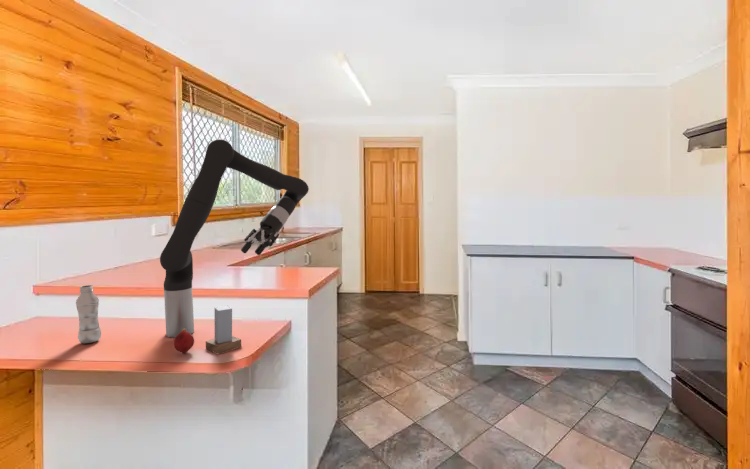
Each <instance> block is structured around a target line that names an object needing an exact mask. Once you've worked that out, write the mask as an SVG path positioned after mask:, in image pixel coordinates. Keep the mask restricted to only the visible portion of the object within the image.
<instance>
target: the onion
mask: <svg viewBox="0 0 750 469" xmlns="http://www.w3.org/2000/svg"><path fill="white" fill-rule="evenodd" d="M194 344H195V338H194V336H193V335H192V334H190V333H188V332H186V329H183V330H182V331H181V332H180V333H179V334H178V335H177V336H176V337H174V340H173V347H174V349H175V350H176V351H177V352H179V353H182V354H186V353H188V351H190V350H191V349H192V348H193V346H194Z"/></svg>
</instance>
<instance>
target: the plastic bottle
mask: <svg viewBox="0 0 750 469" xmlns="http://www.w3.org/2000/svg"><path fill="white" fill-rule="evenodd" d="M79 293H80V294H79V295H78V297H77V299H76V301H75V306H76V310H77V314H78V315H77V316H78V322H79V323H78V325H79V326H78V334H77V339H78V342H80V343H81V344H92V343H95V342H97V341H99V340H100V339H101V337H102V330H101V327H100V323H99V305H100V303H99V302H100V299H99V297H98V296H97V295H96V294H95V293H94V286H93V285H89V284H88V285H81V286H79Z"/></svg>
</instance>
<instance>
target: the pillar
mask: <svg viewBox="0 0 750 469" xmlns="http://www.w3.org/2000/svg"><path fill="white" fill-rule="evenodd" d="M232 336H233V308H232V307H231V306H230V305H222V306H215V307H214V339H215V340H216V341H217V343H223V342H228V341H232Z"/></svg>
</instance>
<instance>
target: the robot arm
mask: <svg viewBox="0 0 750 469" xmlns="http://www.w3.org/2000/svg"><path fill="white" fill-rule="evenodd" d="M227 168H229V169H230V170H231V169H232V170H234V171H237V172H239V173H242V174H244V175H246V176H248V177H250V178H252V179H254V180H255V181H257V182H258V183H261V184H263V185H266V186H267V187H269V188H271V189H274V190H275V191H281V190H284V191H285V192H284V193H283V194H282V196H281V197H280V198H279V199H278V200H277V202H276V203H275V204H274V206H272V207H271V208H270V209H269V211H268V212H267V213H266V215H264V217H263V218H262V220H261V221H260V223H259V226H260V228H258V229H257V230H256V228H253V229H252V230H251V231H250V232H249V233H248V235H247V236H246V237H245V238H244V239H243V240H244V242H245V244H244V245H243V246H242V247H241V249H240V251H241V252H242V253H243V254H247V253H248V251H249V250H250V249H251V248H252V246H253V245H254V244H258V243H260V244H259V245H258V246H257V247H256V249H255V250H254V253H255V254H256V255H257V256H261V254H262V253H263V252H264V250H265V249H266V248H268V247H270V248H271V247H273V245H274V243H275V242H276V240H277V239H278V237H279V236H280V234H279V232H280V231H281V229H282V228H283V226H285V224H286V222H287V221H288V219H289V218H290V216H291V215H292V213H293V212H294V210H295V208H296V206H297V205H298V204H299V203H300V201H301V200H302V199H303V198H304V197H305V196H306V195H307V194H308V193H309V190H310V188H309V185H308V184H307V182H306V181H305V180H303V179H301V178H299V177H296V176H292V175H289V174H285V173H283V172H280V171H278V170H276V169H275V168H272V167H270V166H268V165H266V164H263V163H261V162H258V161H255V160H253V159H250V158H249V157H247V156H244V155H243V154H242V153H240V152H238V151H237V150H235V149H234V148H233V145H232V144H231V143H230V142H229V141H227V140H225V139H219V138H218V139H214V140H212V141H211V142H209V143H208V144H207V148H206V152H205V156H204V160H203V162H202V165H201V168H200V171H199V173H198V174H197V177H196V178H195V180H194V182H192V183H193V184H192V185H191V188H190V189H189V191H188V193H187V195H186V197H185V199H184V202H183V204H182V207H181V210H180V211H179V214H178V218H177V221H176V223H175V227H174V230H173V232H172V234H171V236H170V238H169V240H168V241H167V243H166V245H165V247H164V248H163V250H162V251H161V254H160V257H159V262H160V265H161V267H162V268H163V269H164V271H165V278H164V281H163V298H164V315H165V336H166V337H168V338H175V337H176V336H177V335H178V334H179V333H180V332H181V331H182V330H183V329H186V332H188V333H190V334H191V335H192V334H193V333H194V332H195V319H194V301H193V300H194V298H193V297H194V296H193V280H194V279H193V278H194V269H193V268H194V265H193V263H194V261H193V254H192V251H191V248H192V246H193V243H194V241H195V239H196V237H197V235H198V234H199V232H200V231H201V229H202V228H203V226H204V225H205V223H206V221H207V220H208V218H209V216H210V214H211V211H212V209H213V206H214V204H215V201H216V198H217V195H218V191H219V186H220V183H221V181H222V178H223V176H224V174H225V172H226V170H227Z"/></svg>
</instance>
